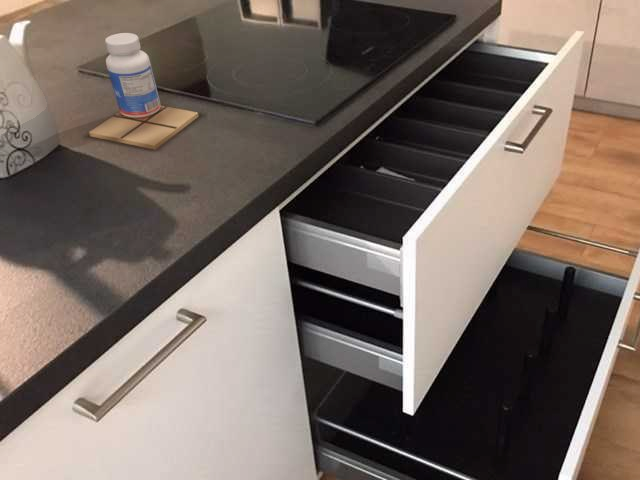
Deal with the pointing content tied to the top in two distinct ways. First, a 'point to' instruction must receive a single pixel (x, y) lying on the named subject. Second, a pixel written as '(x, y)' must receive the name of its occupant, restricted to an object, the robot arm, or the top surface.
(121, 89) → the pill bottle
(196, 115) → the grid board
